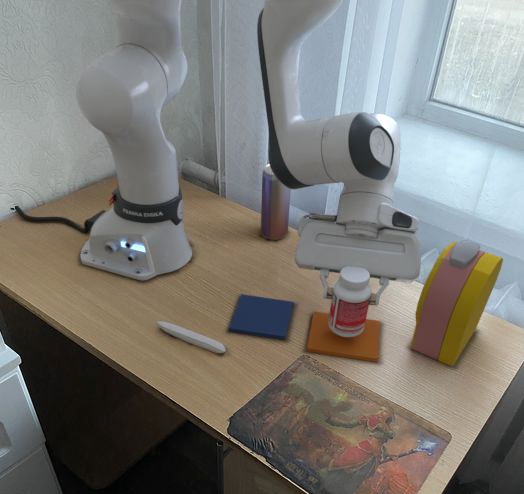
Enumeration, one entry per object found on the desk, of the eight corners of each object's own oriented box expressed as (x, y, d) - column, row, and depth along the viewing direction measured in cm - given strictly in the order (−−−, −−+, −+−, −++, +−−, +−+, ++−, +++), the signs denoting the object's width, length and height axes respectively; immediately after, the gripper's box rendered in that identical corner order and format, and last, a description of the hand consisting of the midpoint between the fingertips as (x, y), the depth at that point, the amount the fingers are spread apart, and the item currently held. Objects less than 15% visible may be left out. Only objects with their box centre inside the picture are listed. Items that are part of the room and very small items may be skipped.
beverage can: (256, 237, 117) (258, 171, 106) (266, 224, 121) (269, 160, 111) (281, 243, 115) (286, 177, 105) (291, 230, 119) (296, 165, 109)
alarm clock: (435, 308, 100) (463, 221, 88) (478, 325, 97) (513, 237, 84) (402, 352, 91) (428, 261, 79) (448, 372, 88) (483, 281, 75)
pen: (159, 324, 95) (158, 317, 93) (228, 351, 90) (227, 343, 89) (154, 330, 93) (152, 322, 92) (223, 356, 89) (223, 349, 88)
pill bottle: (371, 330, 91) (383, 277, 84) (343, 343, 89) (353, 289, 81) (347, 311, 95) (357, 258, 87) (320, 322, 92) (327, 269, 85)
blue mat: (228, 331, 94) (228, 328, 93) (241, 297, 101) (241, 294, 100) (284, 340, 93) (285, 336, 92) (293, 305, 100) (293, 301, 99)
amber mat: (306, 351, 91) (306, 347, 90) (313, 314, 98) (313, 311, 97) (377, 362, 89) (378, 358, 89) (379, 324, 96) (380, 321, 96)
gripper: (299, 205, 86) (286, 290, 86) (429, 221, 83) (416, 308, 83) (301, 216, 92) (289, 295, 92) (422, 231, 90) (409, 312, 89)
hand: (350, 301), depth 87 cm, fingers closed on pill bottle, 6 cm apart
